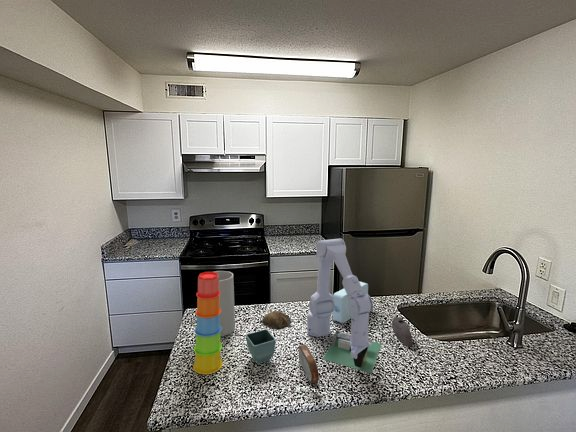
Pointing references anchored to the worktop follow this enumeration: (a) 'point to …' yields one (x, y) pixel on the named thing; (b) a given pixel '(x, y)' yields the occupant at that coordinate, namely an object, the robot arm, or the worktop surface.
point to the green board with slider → (342, 354)
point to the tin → (308, 363)
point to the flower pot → (261, 345)
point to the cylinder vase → (226, 302)
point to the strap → (346, 337)
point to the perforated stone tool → (402, 331)
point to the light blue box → (344, 304)
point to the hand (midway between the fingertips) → (358, 365)
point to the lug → (364, 359)
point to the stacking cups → (208, 325)
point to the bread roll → (276, 319)
